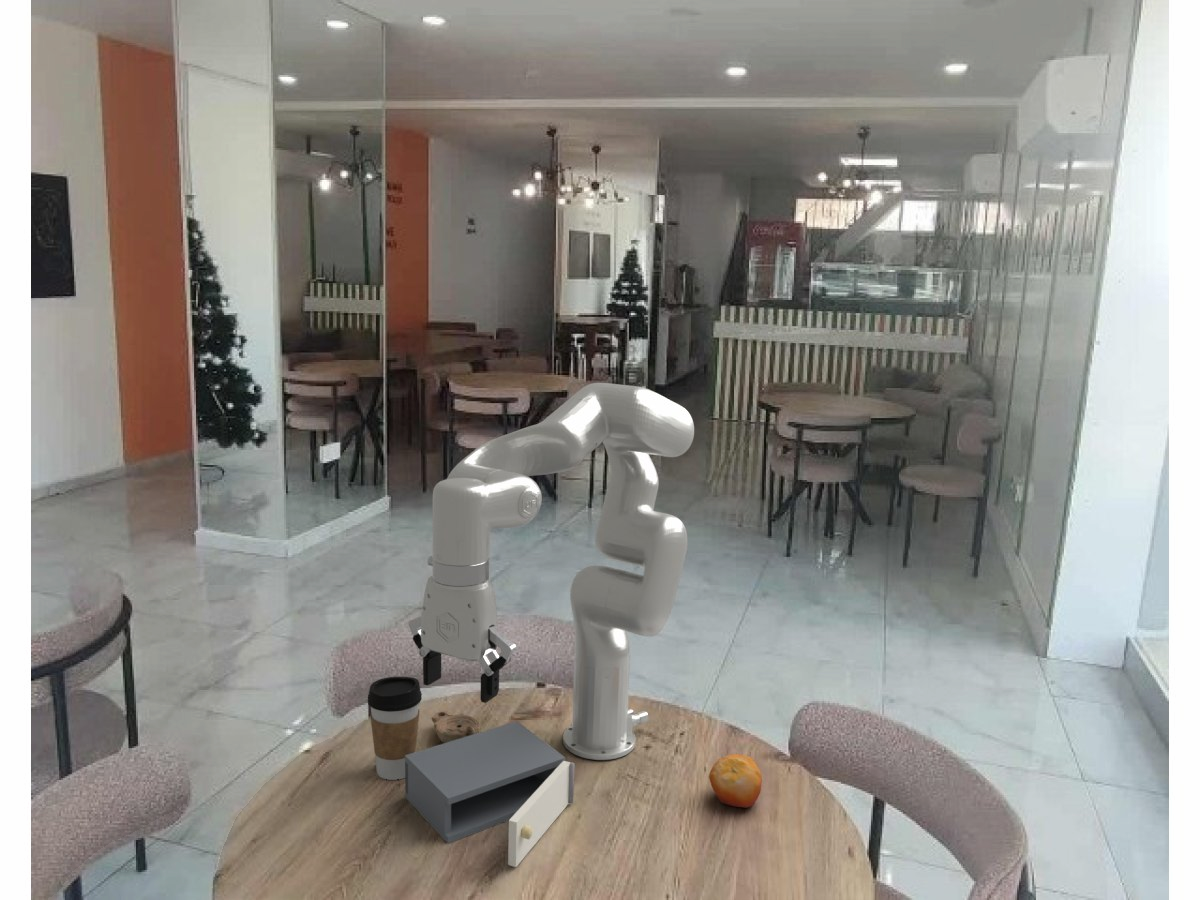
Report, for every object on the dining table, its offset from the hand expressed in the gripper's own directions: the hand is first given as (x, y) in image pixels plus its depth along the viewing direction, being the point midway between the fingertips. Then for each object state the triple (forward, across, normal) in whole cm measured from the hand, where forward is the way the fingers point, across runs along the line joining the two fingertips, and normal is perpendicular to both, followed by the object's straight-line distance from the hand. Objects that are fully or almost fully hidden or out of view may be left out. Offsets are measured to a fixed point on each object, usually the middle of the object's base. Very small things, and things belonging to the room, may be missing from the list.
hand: (460, 690), depth 124 cm
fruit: (+23, +30, +31) cm, 49 cm away
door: (+23, +9, +8) cm, 26 cm away
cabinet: (+23, -3, +11) cm, 26 cm away
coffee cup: (+23, -20, +10) cm, 32 cm away
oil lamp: (+23, -18, +23) cm, 37 cm away
